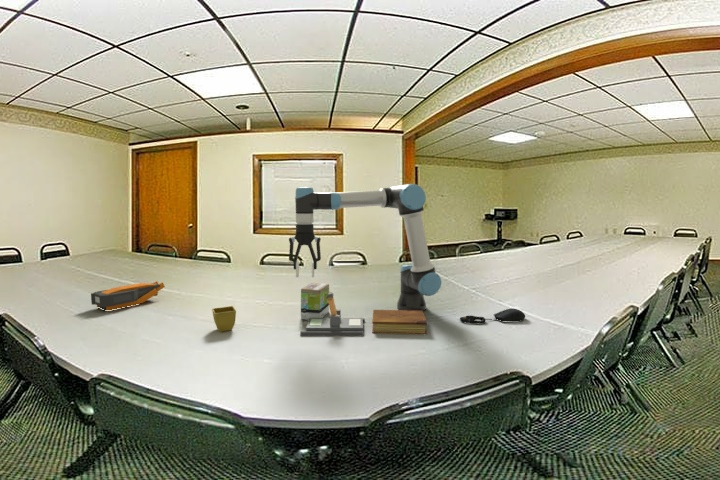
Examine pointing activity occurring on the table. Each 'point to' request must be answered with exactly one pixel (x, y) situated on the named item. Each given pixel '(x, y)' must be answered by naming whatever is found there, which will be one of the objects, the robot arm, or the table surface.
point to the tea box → (314, 301)
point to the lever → (331, 303)
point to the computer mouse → (497, 316)
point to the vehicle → (125, 295)
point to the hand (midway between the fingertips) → (305, 276)
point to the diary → (399, 322)
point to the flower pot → (224, 318)
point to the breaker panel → (335, 323)
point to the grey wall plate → (332, 333)
